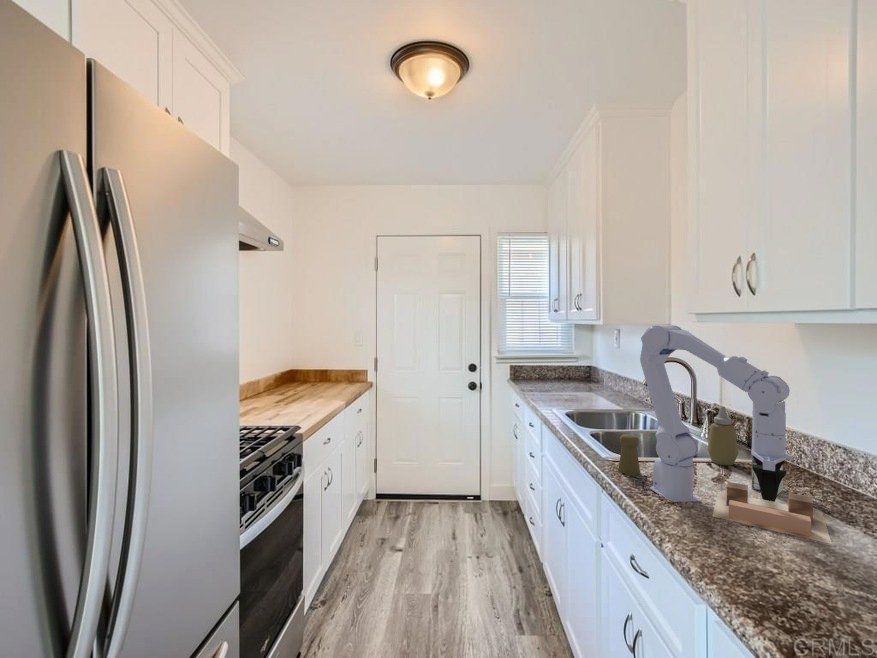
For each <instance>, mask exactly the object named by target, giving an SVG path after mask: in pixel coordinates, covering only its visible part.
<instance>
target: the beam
mask: <svg viewBox="0 0 877 658" xmlns="http://www.w3.org/2000/svg"><path fill="white" fill-rule="evenodd" d="M729 518H733V519H738V520H742V521H746V522H751V523H755V524H759V525H764V526H768V527H773V528H777V529H781V530H786V531H790V532H794V533H799V534H803V535H807V536H811V519H810V516H805V515H800V514H795V513H790V512H786V511H781V510H776V509H771V508H766V507H762V506H757V505H752V504H747V503H742V502H738V501H733V500H730V501H729Z"/></svg>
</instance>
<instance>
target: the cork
mask: <svg viewBox="0 0 877 658" xmlns="http://www.w3.org/2000/svg"><path fill="white" fill-rule="evenodd" d="M619 442H620V445H621V448H620V449H621V450H620V456H619V462H618V468H617V469H618V472H619V473H620V474H623V473H624V474H625V475H628V476H629V475H630V476H636V475H637V476H638V475H640V474H641V468H640V462H639V456H638V454H639V453H638V446H639V438H638V437H637V436H636V435H634V434H629V433H627V434H626V433H624V434H622V435H620V437H619Z"/></svg>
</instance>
